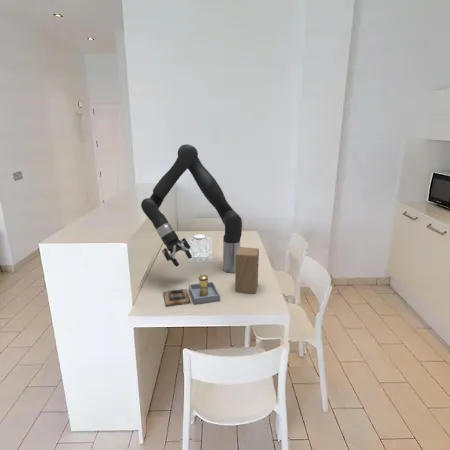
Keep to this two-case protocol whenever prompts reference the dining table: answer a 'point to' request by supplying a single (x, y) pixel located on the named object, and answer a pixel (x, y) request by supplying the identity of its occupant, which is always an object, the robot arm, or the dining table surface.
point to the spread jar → (199, 237)
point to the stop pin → (203, 285)
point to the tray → (211, 297)
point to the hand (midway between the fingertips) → (184, 261)
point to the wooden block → (246, 270)
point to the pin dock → (176, 297)
